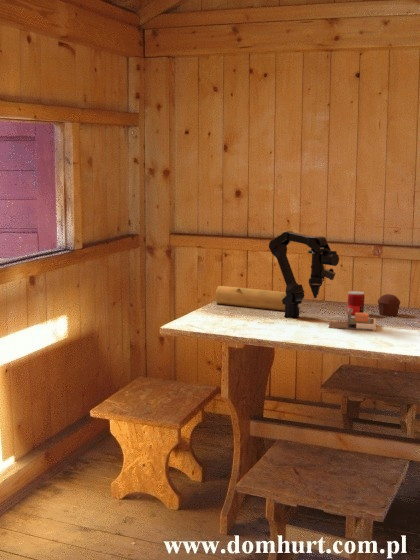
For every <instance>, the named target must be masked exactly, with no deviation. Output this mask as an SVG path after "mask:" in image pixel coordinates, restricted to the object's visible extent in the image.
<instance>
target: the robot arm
mask: <svg viewBox="0 0 420 560" xmlns="http://www.w3.org/2000/svg"><path fill="white" fill-rule="evenodd" d="M291 241H292V242H294V243H299V244H303V245H306V246H307V247H308V248H310V249H309V250H308V251H307V253H308V254H311V262H310V263H311V265H310V268H311V269H310V278H308V285H309V289H310V290H311V293H312V295H313V298H314V299H317V297H318V295H319V292H320V288H321V286H323V283H324V281H325V279H329V280H330V281H333V280H334V278H335V276H336V272H334V271H335V270H334V269H333V268H329V269H326V267H325V265H326V266H333V267H336V266H338V264H339V262H340V256H339V254H338V253H337V252H338V251H337V250H331V248H330V245H329V244H328V241H327V239H326V237H325V236H323V235H322V236H319V235H318V236H317V235H315V236H310V235H306V234H303V233H302V234H301V233H298V232H294V231H291V230H288V231H284V232H282V233H281V234H280V235H278V236H276V237H275V238H274V239H271V240H270V241H269V244H268V249H269V251H270V253H271V254H272V255H273V256H274V257H275V258H276V260H277V262H278V265H279V268H280V271H281V275H282V278H283V280H284V283H285V286H286V288H285V292H286V296H285V297H284V298H283V299H282V303H283V304H284V305H285V311H284V315H283V317H284V318H292V319H293V318H294V319H298V318H299V316H301V315H300V310H301V308H300V306H299V305H301V304H302V302H303V300H304V298H305V290H304V288H303V285H302V284H300V283H299V284H298V283H297V281H296V278H295V275H294V272H293V269H292V267H291V265H290V262H289V259H288V255H287V252H288V245H289V244H291Z"/></svg>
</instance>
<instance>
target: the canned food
mask: <svg viewBox="0 0 420 560" xmlns="http://www.w3.org/2000/svg"><path fill="white" fill-rule="evenodd" d="M346 309H347V311H346V312H347V314H348V312H349V310H352V312H351V316H354V317H355V313H365V312H364V311H365V310H364V309H365V292H364V291H359V290H357V291H355V290H351V291H350V290H349V291H348V293H347V308H346Z"/></svg>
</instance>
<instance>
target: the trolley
mask: <svg viewBox="0 0 420 560" xmlns="http://www.w3.org/2000/svg"><path fill="white" fill-rule="evenodd" d="M351 312H352V310H349V312H348V313H347V321H348V324H349V325H350V326H353V324H356V323H366V324H370V321H371V319H368V318H370V315H369V312H364V313H355V316H354V317H352V315H351Z"/></svg>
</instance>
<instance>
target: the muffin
mask: <svg viewBox="0 0 420 560" xmlns="http://www.w3.org/2000/svg"><path fill="white" fill-rule="evenodd" d="M377 304H378V310H379V315H380V316H383V317H397V316H398V314H399V309H400V304H401V301H400V299H399V298H398V296H396V295H394V294H391V293H390V294H389V293H388V294H383V295H381V296H380V297H379V298H378V299H377Z"/></svg>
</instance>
